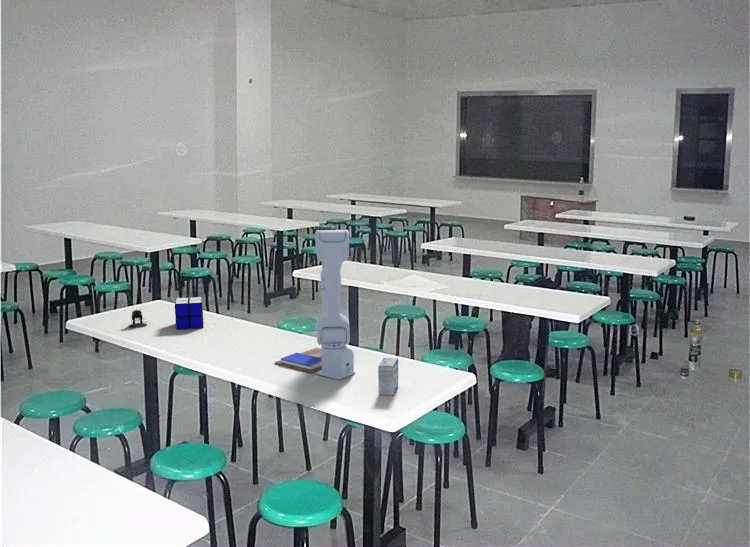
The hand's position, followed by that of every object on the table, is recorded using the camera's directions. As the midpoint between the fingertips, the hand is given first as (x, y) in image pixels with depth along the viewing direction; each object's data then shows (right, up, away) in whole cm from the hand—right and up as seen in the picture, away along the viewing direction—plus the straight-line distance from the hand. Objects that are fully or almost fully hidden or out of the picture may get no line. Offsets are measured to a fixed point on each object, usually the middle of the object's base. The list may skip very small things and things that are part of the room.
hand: (331, 347), depth 236 cm
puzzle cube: (-56, +4, +36) cm, 67 cm away
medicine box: (+18, -9, -33) cm, 39 cm away
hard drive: (-8, -4, -10) cm, 14 cm away
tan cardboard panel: (-5, -4, -6) cm, 9 cm away
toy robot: (-76, +4, +36) cm, 85 cm away
